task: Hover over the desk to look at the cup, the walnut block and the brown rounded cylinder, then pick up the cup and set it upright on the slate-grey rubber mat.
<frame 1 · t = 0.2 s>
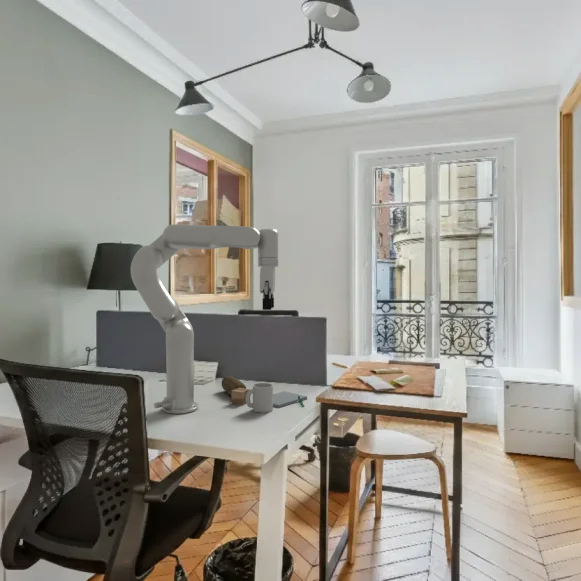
hand: (268, 308, 170), 36 cm above the table, tool pointing down, fingers open, 9 cm apart
cup: (259, 411, 163), on the table
walnut block: (240, 403, 172), on the table
mat: (281, 400, 176), on the table
brown rounded cylinder: (233, 395, 184), on the table
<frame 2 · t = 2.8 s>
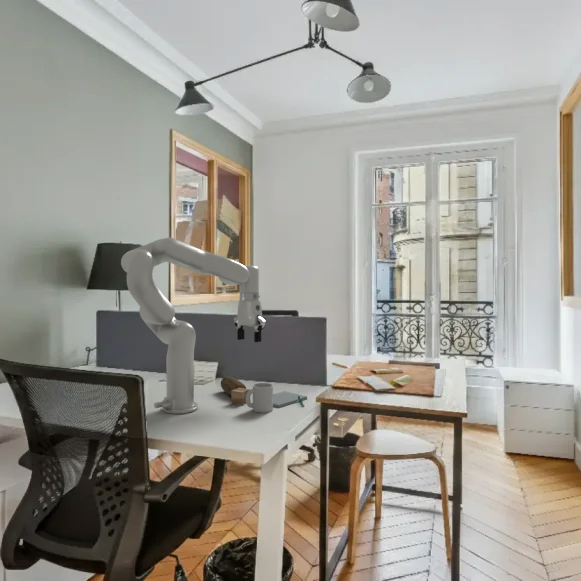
hand: (249, 340, 180), 22 cm above the table, tool pointing down, fingers open, 9 cm apart
nothing on the table moved.
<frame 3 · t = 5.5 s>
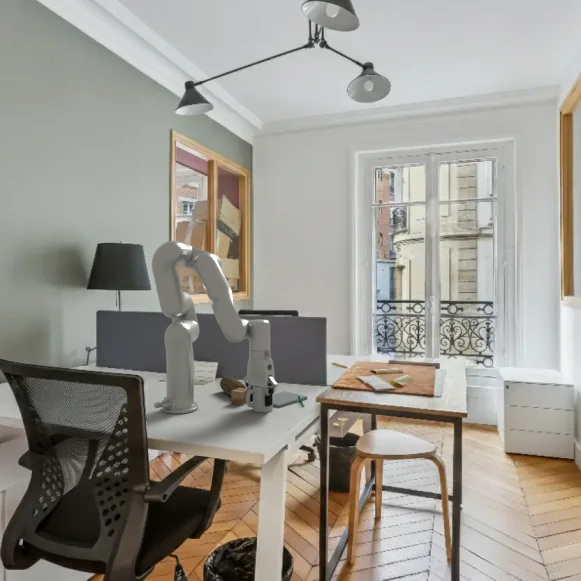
hand: (260, 403, 163), 2 cm above the table, tool pointing down, fingers open, 7 cm apart
cup: (259, 410, 163), on the table, touching gripper
everything else where it was.
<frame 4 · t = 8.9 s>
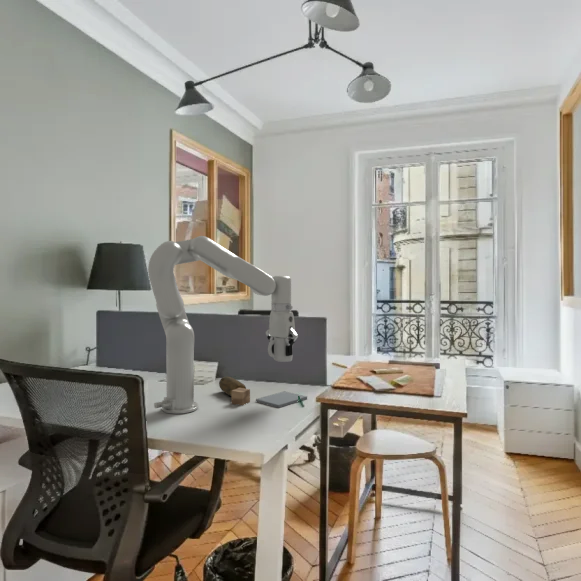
hand: (281, 354, 175), 18 cm above the table, tool pointing down, fingers closed on cup, 7 cm apart
cup: (279, 360, 175), point 15 cm above the table, touching gripper
everything else where it was.
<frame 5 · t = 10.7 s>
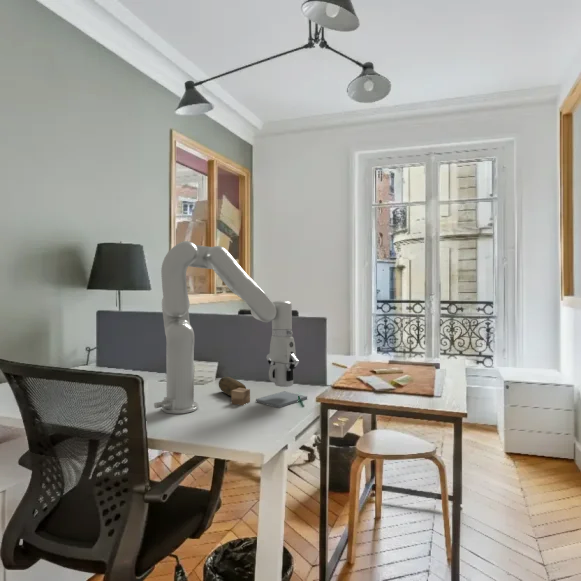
hand: (282, 378, 176), 8 cm above the table, tool pointing down, fingers closed on cup, 7 cm apart
cup: (280, 385, 176), point 6 cm above the table, touching gripper
everything else where it was.
when the fingers open (4 cm above the table, at t = 12.0 s): cup moves 1 cm, resting on mat.
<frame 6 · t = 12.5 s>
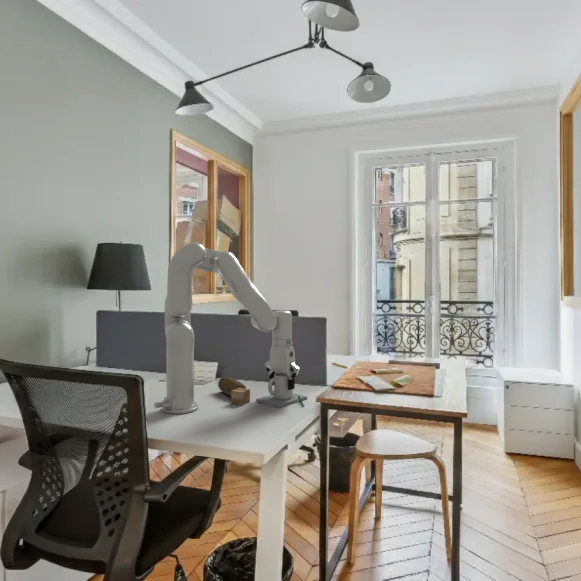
hand: (281, 387, 176), 5 cm above the table, tool pointing down, fingers open, 9 cm apart
cup: (280, 398, 176), point 1 cm above the table, touching mat
everything else where it was.
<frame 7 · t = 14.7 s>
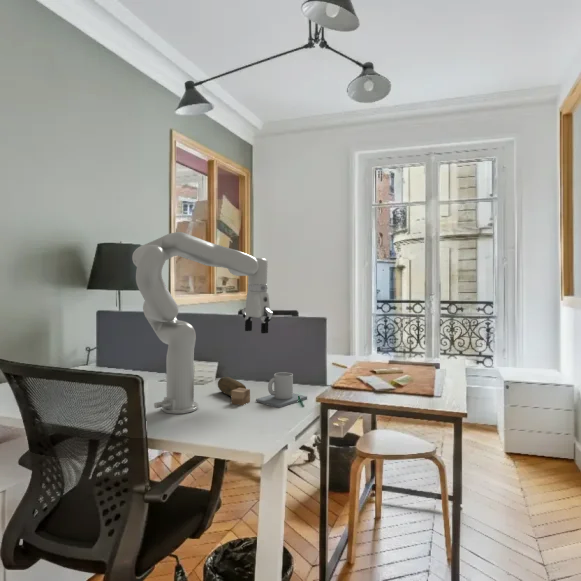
hand: (256, 332, 182), 25 cm above the table, tool pointing down, fingers open, 9 cm apart
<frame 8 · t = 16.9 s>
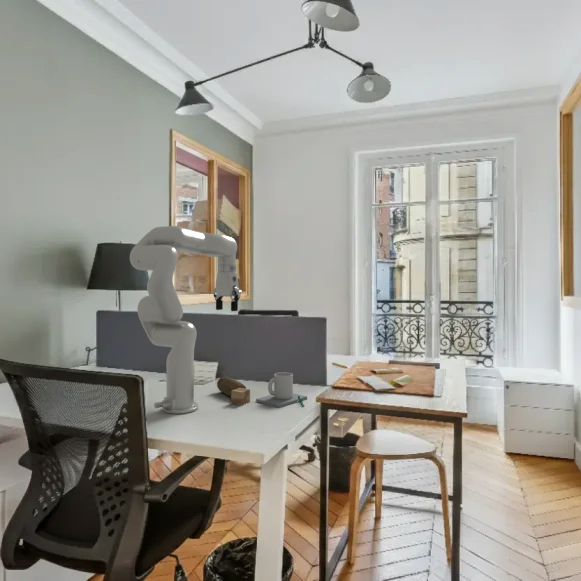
hand: (226, 310, 192), 33 cm above the table, tool pointing down, fingers open, 9 cm apart
at the end: cup inside the target area on the mat (0.6 cm from its centre), point 0.8 cm above the mat's base; cup tilted 0°; the gripper is holding nothing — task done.
